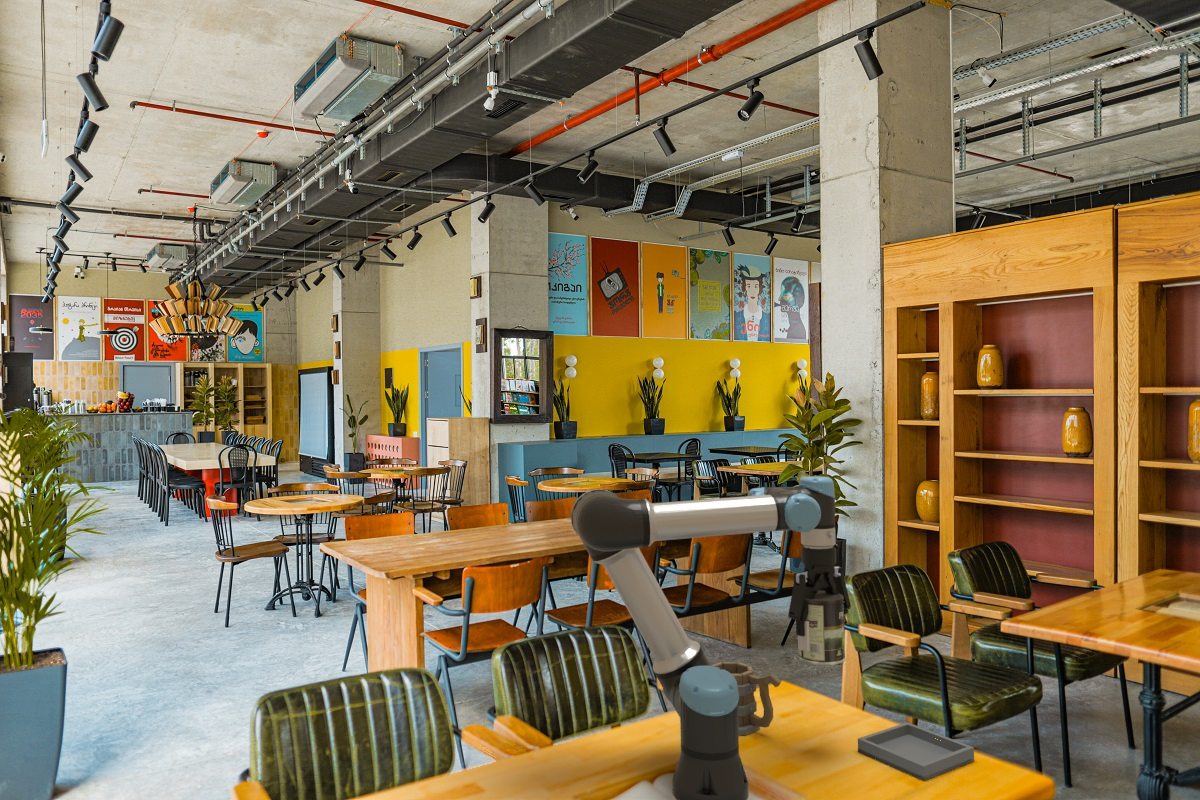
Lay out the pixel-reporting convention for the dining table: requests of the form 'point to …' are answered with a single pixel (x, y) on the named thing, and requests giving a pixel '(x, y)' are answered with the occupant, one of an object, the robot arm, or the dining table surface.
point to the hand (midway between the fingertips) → (821, 645)
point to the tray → (916, 750)
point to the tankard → (750, 696)
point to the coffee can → (825, 630)
